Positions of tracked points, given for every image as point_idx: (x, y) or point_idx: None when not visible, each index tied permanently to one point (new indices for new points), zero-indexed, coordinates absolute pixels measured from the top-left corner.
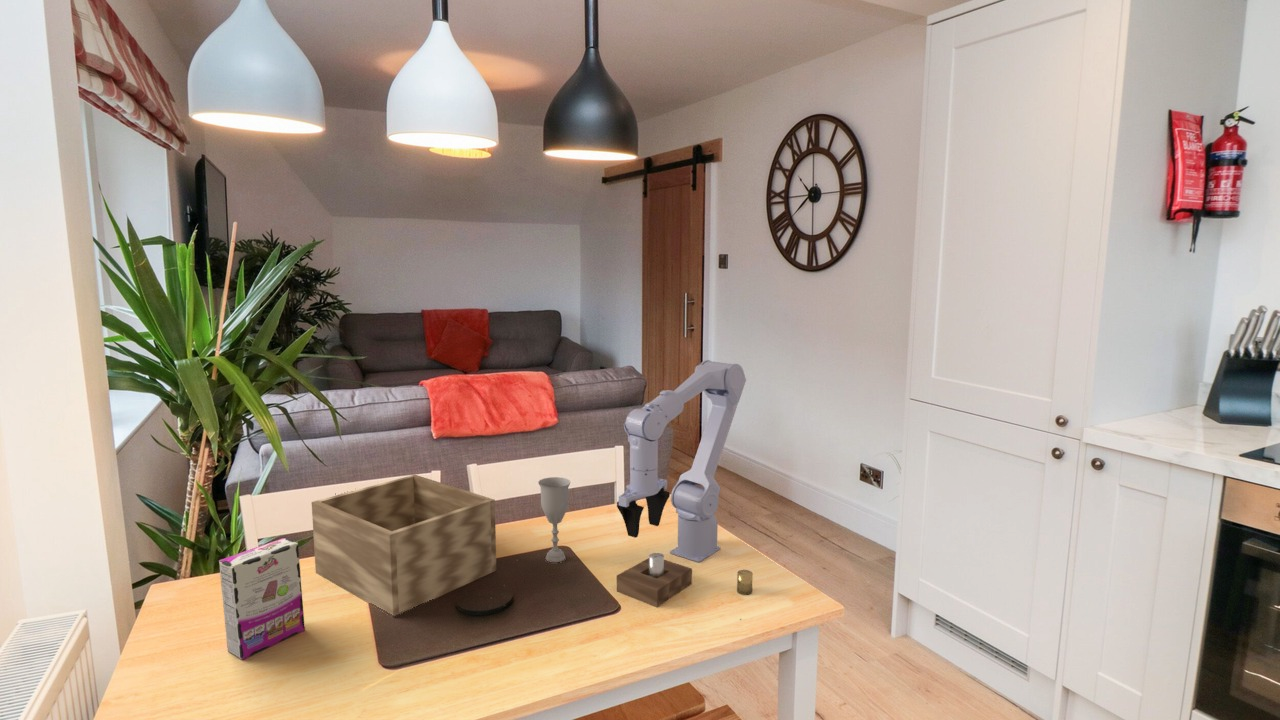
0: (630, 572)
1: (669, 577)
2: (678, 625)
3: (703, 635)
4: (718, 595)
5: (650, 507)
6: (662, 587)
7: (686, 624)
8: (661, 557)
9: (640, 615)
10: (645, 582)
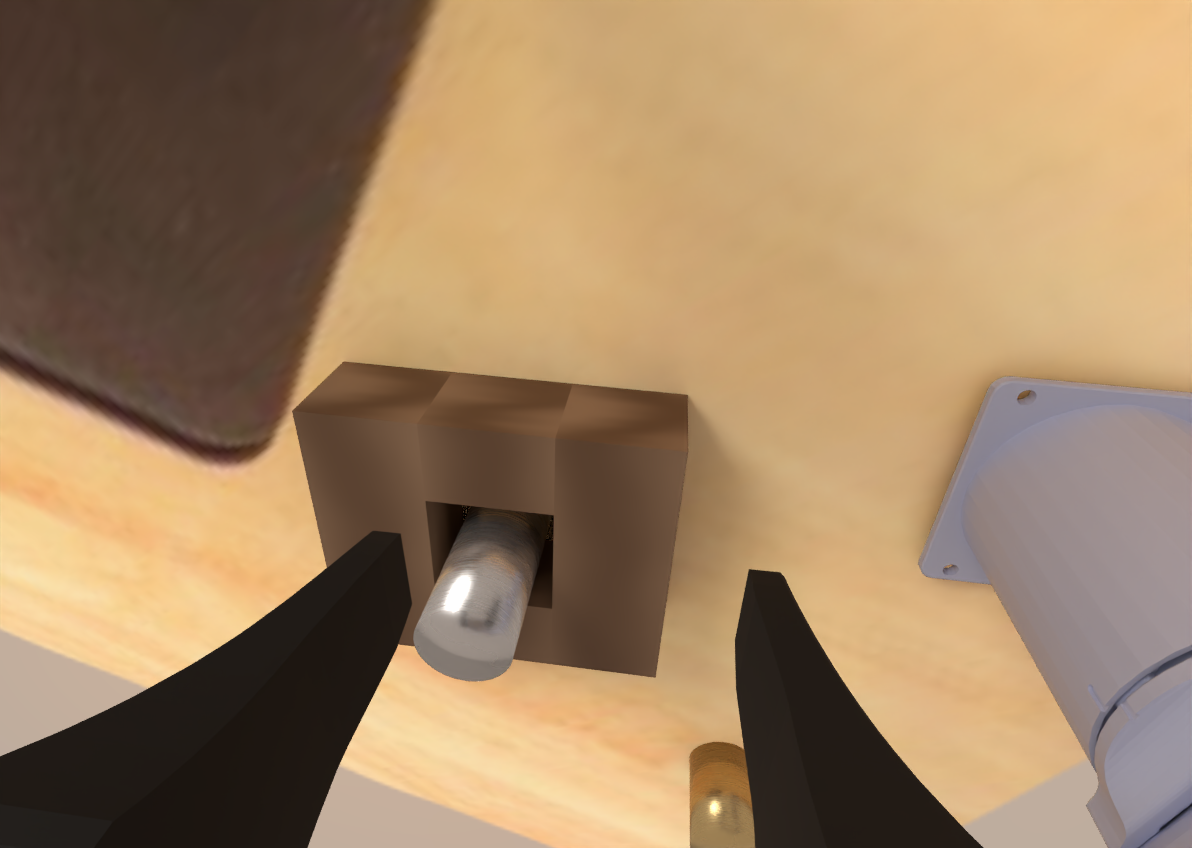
0: (387, 455)
1: None
2: None
3: (354, 736)
4: (634, 705)
5: (781, 749)
6: None
7: None
8: (466, 674)
9: (281, 547)
10: None
